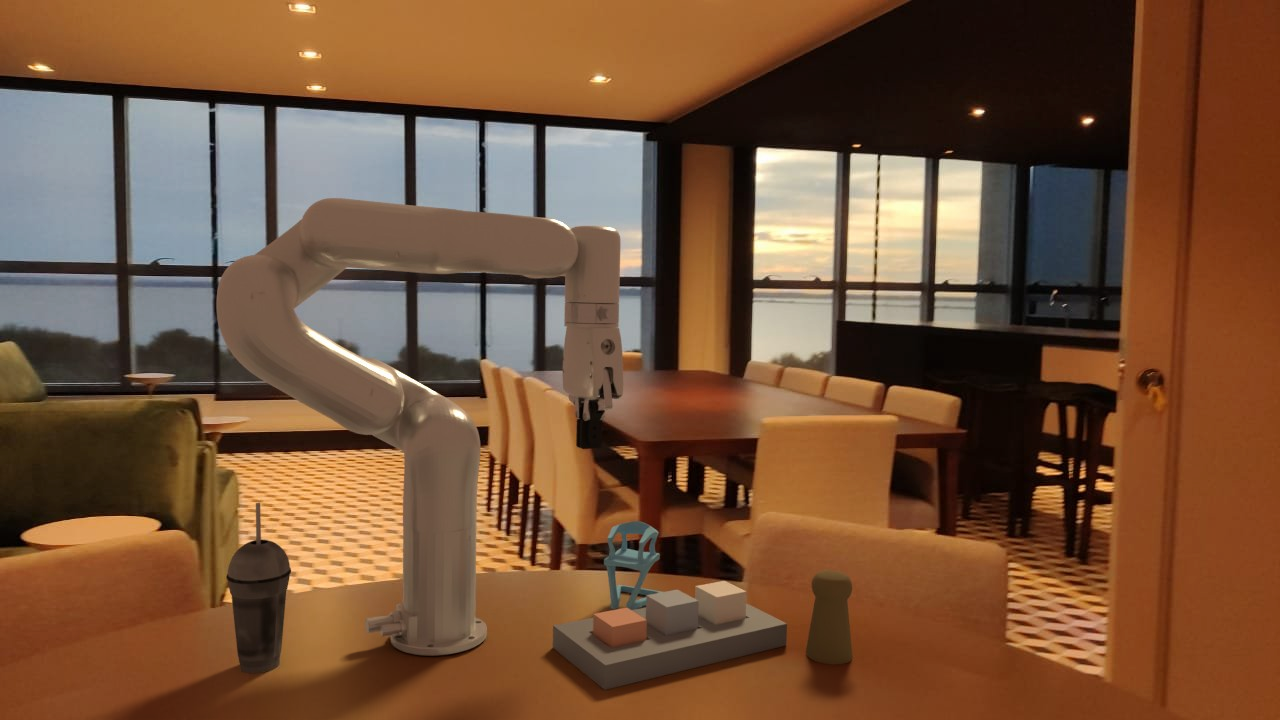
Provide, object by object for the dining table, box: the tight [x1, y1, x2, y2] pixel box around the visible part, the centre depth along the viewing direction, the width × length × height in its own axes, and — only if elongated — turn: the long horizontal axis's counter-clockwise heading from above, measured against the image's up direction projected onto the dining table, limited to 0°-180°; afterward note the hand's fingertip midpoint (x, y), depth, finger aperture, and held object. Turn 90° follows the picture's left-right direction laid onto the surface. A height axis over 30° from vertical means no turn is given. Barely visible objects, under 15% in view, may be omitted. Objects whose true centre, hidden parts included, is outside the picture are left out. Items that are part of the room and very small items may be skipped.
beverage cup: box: [226, 502, 292, 674], centre depth 107 cm, size 7×7×20 cm
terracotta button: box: [592, 607, 647, 648], centre depth 112 cm, size 5×5×4 cm
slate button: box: [645, 589, 699, 636], centre depth 116 cm, size 5×5×4 cm
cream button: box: [694, 580, 748, 625], centre depth 120 cm, size 5×5×4 cm
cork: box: [805, 569, 853, 665], centre depth 115 cm, size 6×6×11 cm
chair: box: [603, 520, 662, 610], centre depth 132 cm, size 8×8×12 cm
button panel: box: [552, 597, 788, 691], centre depth 116 cm, size 28×14×3 cm, turn 122°
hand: (588, 447), depth 122 cm, fingers closed
